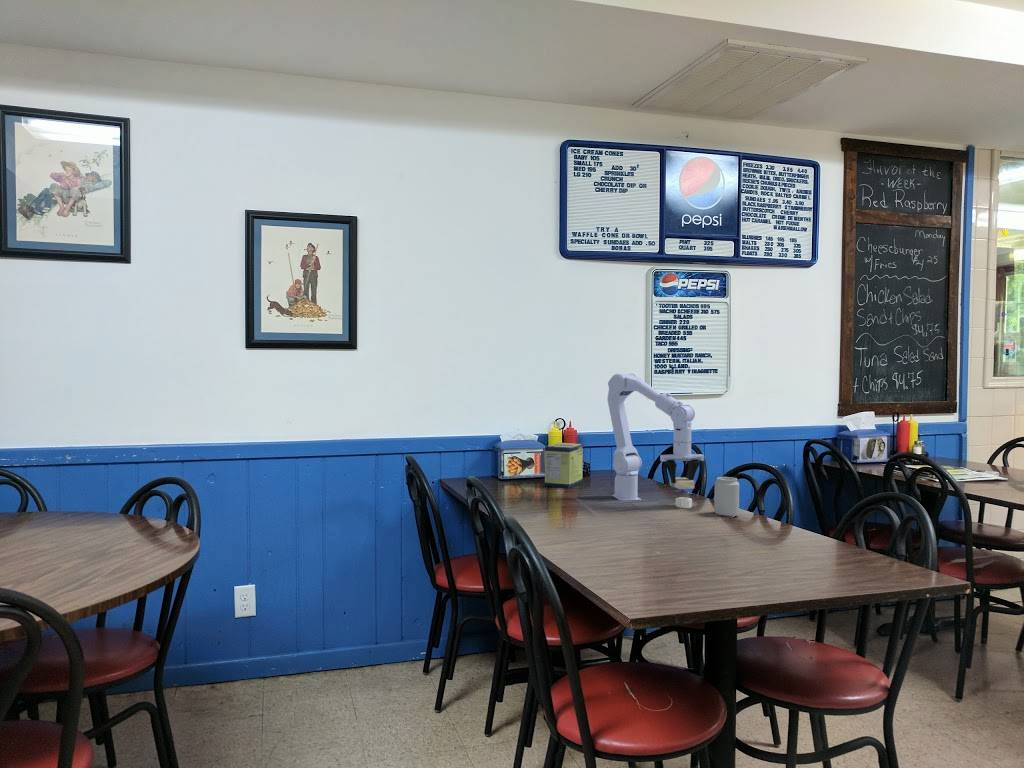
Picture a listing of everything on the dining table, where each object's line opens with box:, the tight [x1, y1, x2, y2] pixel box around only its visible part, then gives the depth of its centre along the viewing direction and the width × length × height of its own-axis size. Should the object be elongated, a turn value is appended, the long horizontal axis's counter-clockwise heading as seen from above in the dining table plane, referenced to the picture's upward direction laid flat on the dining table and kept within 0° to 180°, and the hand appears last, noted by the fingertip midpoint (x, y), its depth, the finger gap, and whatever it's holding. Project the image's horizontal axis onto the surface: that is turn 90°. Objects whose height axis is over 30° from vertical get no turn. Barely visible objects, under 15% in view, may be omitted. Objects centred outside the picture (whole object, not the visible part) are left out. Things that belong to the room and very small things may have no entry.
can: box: [713, 476, 740, 518], centre depth 238 cm, size 8×8×12 cm
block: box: [669, 477, 696, 490], centre depth 249 cm, size 8×6×2 cm
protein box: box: [544, 442, 584, 489], centre depth 294 cm, size 10×16×16 cm
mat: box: [630, 501, 668, 511], centre depth 250 cm, size 12×9×1 cm
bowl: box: [675, 496, 693, 509], centre depth 249 cm, size 5×5×3 cm
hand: (681, 482), depth 249 cm, fingers closed on block, 5 cm apart
